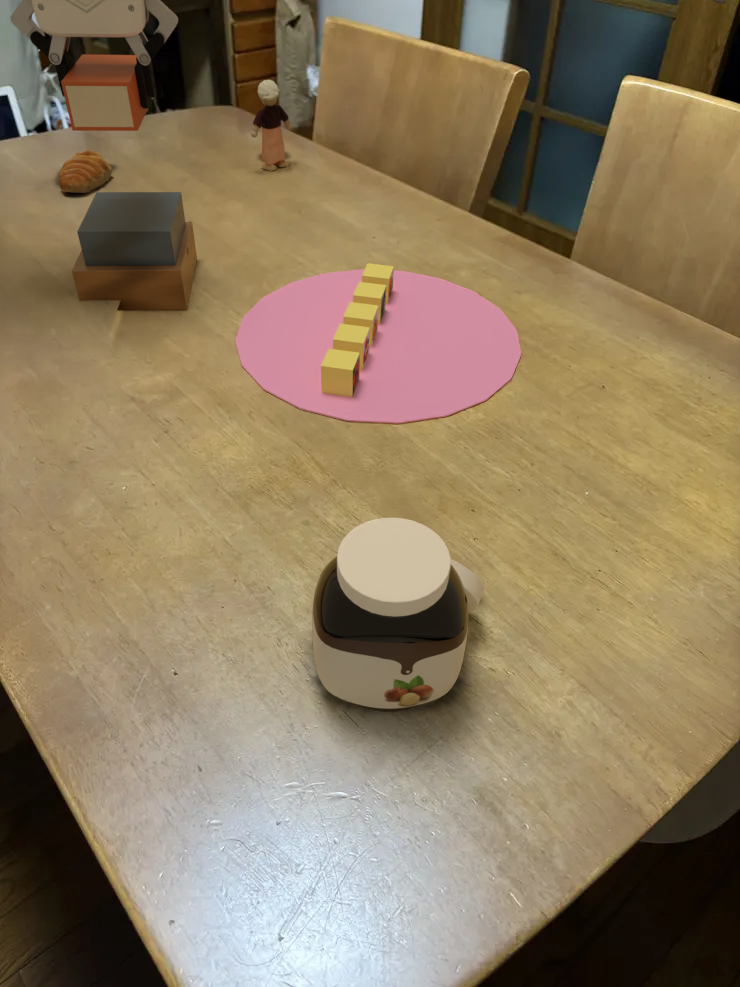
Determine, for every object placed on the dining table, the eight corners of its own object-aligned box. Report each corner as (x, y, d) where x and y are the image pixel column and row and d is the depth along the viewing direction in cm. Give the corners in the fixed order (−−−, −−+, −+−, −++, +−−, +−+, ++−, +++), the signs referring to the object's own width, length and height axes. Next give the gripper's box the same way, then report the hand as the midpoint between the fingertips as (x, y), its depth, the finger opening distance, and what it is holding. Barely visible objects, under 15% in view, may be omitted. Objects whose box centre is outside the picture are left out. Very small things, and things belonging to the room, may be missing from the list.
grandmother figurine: (278, 157, 125) (274, 72, 116) (296, 163, 123) (293, 77, 114) (247, 170, 120) (240, 83, 111) (265, 176, 118) (260, 88, 110)
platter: (191, 398, 75) (186, 369, 73) (282, 257, 98) (280, 232, 96) (511, 445, 71) (517, 417, 69) (528, 287, 94) (533, 261, 92)
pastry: (94, 198, 110) (87, 172, 108) (49, 196, 111) (42, 169, 108) (115, 175, 117) (110, 149, 115) (73, 172, 118) (67, 147, 115)
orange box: (72, 131, 75) (60, 81, 72) (91, 100, 83) (81, 54, 79) (138, 131, 76) (129, 82, 73) (151, 100, 83) (144, 55, 80)
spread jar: (311, 717, 50) (305, 607, 42) (319, 585, 58) (315, 472, 50) (491, 719, 50) (519, 610, 42) (473, 587, 58) (494, 475, 50)
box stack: (80, 311, 87) (61, 236, 81) (101, 259, 96) (85, 189, 90) (187, 310, 88) (176, 235, 82) (198, 259, 97) (188, 189, 91)
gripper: (-47, -114, 63) (16, 115, 75) (164, -109, 64) (192, 116, 76) (-20, -122, 68) (35, 93, 81) (174, -117, 70) (199, 94, 82)
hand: (111, 102), depth 78 cm, fingers closed on orange box, 6 cm apart
